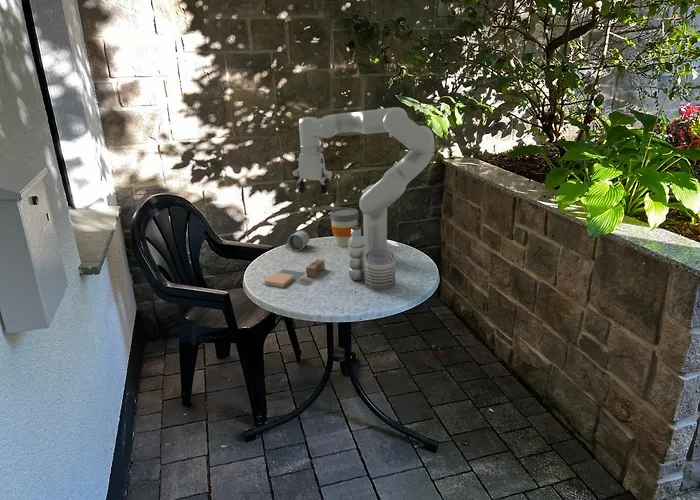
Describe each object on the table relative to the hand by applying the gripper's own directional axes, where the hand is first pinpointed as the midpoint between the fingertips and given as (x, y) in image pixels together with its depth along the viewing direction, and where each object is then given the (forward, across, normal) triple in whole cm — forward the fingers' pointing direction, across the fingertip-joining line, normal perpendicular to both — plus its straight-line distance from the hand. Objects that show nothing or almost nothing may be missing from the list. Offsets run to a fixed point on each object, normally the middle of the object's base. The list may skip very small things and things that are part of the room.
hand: (313, 193), depth 197 cm
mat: (+28, +2, +24) cm, 37 cm away
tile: (+27, +2, +23) cm, 35 cm away
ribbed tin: (+29, -34, +15) cm, 47 cm away
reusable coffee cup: (+28, -4, -20) cm, 35 cm away
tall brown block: (+28, -7, +18) cm, 34 cm away
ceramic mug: (+29, +14, -8) cm, 33 cm away
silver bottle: (+28, -24, +13) cm, 39 cm away
